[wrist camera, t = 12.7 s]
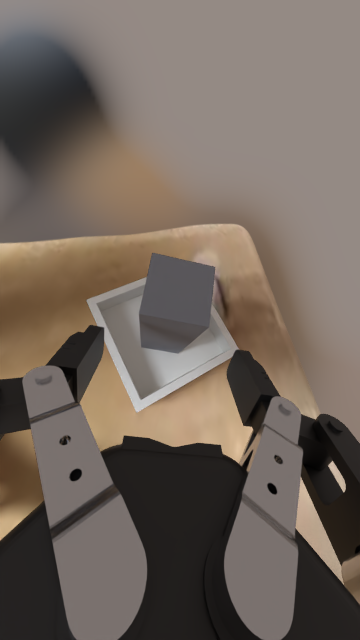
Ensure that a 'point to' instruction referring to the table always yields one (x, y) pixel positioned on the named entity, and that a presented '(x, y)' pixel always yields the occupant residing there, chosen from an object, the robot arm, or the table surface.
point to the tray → (148, 364)
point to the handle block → (175, 303)
